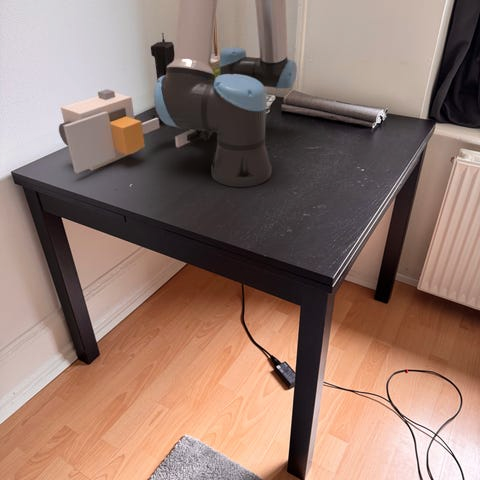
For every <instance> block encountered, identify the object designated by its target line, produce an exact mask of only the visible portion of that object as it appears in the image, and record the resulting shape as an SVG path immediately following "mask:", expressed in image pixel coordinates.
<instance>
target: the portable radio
mask: <svg viewBox="0 0 480 480" xmlns="http://www.w3.org/2000/svg"><path fill="white" fill-rule="evenodd" d="M161 35H162V41H157V42H156V43H154V44H153V45H151V46H150V53H151V56H152V57H153V58H154V62H155V64H154V65H155V70H156V71H155V72H156V73H155V74H156V81H157V80H158V79H159V78H160V77H162V76H164V75H166V70H167V66H168V65H169V64H171V63H172V62H173V61H174V55H175V45H174V42H173V41H165V36H164V32H162V33H161Z"/></svg>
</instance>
